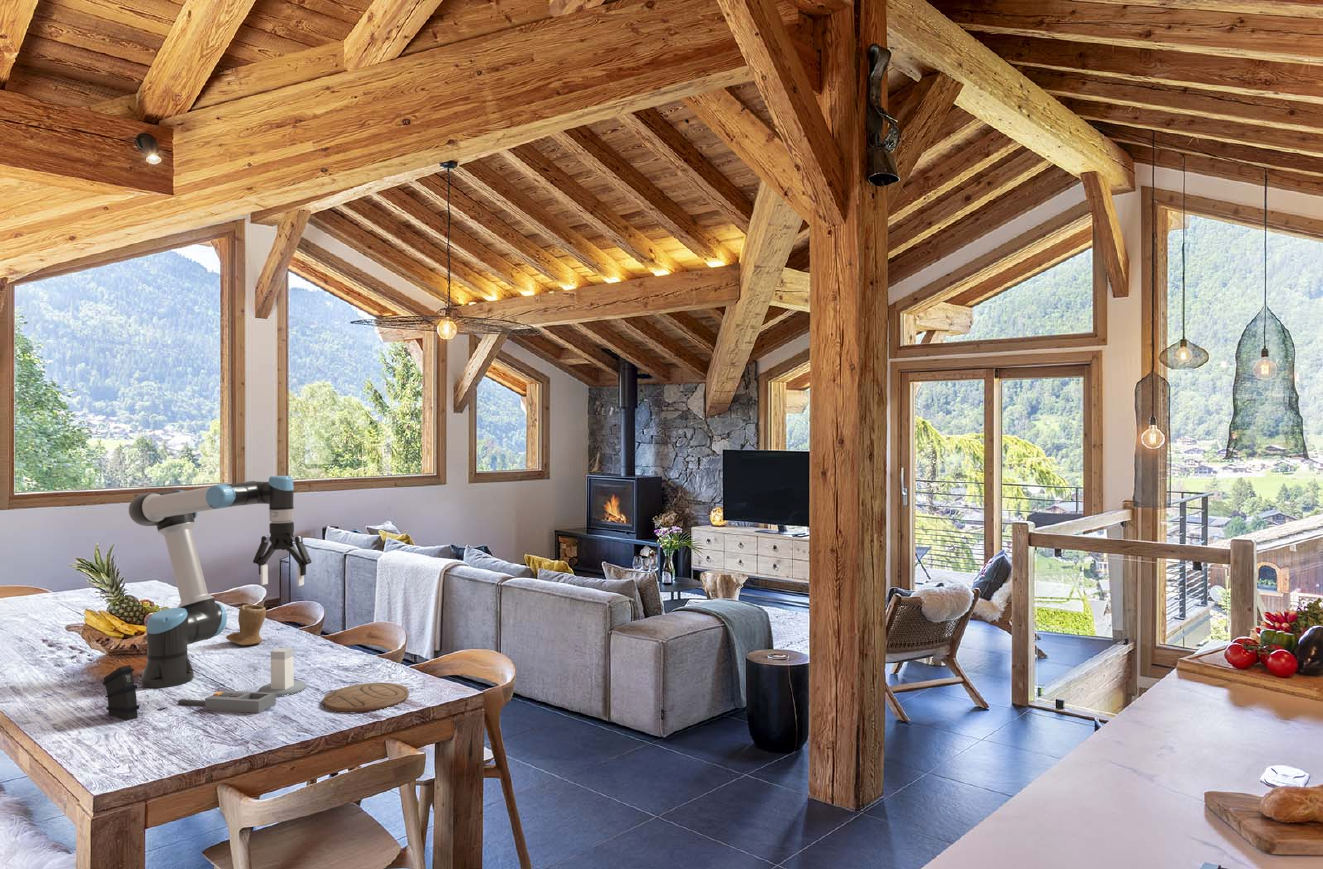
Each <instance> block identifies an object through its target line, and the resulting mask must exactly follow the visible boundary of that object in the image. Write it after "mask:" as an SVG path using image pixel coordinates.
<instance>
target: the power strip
mask: <svg viewBox="0 0 1323 869" xmlns="http://www.w3.org/2000/svg"><path fill="white" fill-rule="evenodd" d="M275 704H276V705H277V697H276V693H265V692H258V691H245V690H244V691H243V690H240V691H239V690H229V689H228V690H226V689H225V690H221V691H216V692H214V693H213V694H212V695H209V696H207V697H204V700H203V699H201V700H200V699H186V698H181V699H179V700H178V705H182V706H183V705H185V706H187V705H188V706H203V707H204V708H205V709H204V710H205V711H216V712H218V711H219V712H231V713H233V712H234V713H247V712H251V713H250V714H259V712H260V713H262V712H265V711H266V710H268V709H270V708H272V707H274V706H275ZM273 705H274V706H273ZM271 706H272V707H271ZM269 707H270V708H269ZM267 708H268V709H267ZM265 709H266V710H265Z"/></svg>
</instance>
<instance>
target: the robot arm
mask: <svg viewBox="0 0 1323 869" xmlns="http://www.w3.org/2000/svg"><path fill="white" fill-rule="evenodd" d="M294 487H295V486H294V479H293V477H292V476H290V475H271V476H270V477H269V478H268V481H257V480H256V481H255V480H251V481H249V480H248V481H243V482H237V483H219V484H214V485H212V486H207V487H202V488H196V489H190V490H189V489H188V490H183V489H182V490H181V489H180V490H179V489H178V490H177V489H171V490H163V491H162V490H161V491H153V492H151V491H150V492H144V493H141V494H138V495H137V496H135V497H134V498H132V500H131V501H130V503H129V506H128V515H129V517H130V518H131V520H132V521H133V522H134V523H136V524H137V525H140V526H143V527H155V526H156V529H157V532H158V533H159V534H160V535H162V536H164V540H165V543H166V544H165V545H166V547H167V552H168V555H169V560H170V564H171V567H172V572H173V575H174V579H175V583H176V587H177V591H178V595H179V598H180V603H179V604H178V606H177V607H172V608H170V607H169V609H168V608H165V609H162V610H158V611H156V612H154V613H151V614H150V615H149V617H148V618H147V622H146V648H147V649H146V651H147V652H146V656H147V657H146V659H147V660H146V664H145V667H144V668H143V669H144V670H143V672H142V675H141V686H142V687H145V688H152V689H153V688H168V687H173V686H177V685H178V686H179V685H182V684H187V683H188V682H190V681H192V680H193V679H194V678H195V677H194V669H193V667H192V664H191V661H190V658H189V656H188V645H191V644H195V643H198V642H202V641H205V640H209V639H212V638H213V637H214V638H215V637H217V636H219V635H220V634H221V633H222V632H224V629H225V627H226V625H227V619H228V616H227V615H228V614H227V611H226V609H225V607H224V606H222V604H220V603H219V602H216V599H215V596H213V595H211V594H209V593H208V588H207V584H206V580H205V576H204V573H203V568H202V565H201V560H200V557H199V553H198V549H197V545H196V542H195V538H194V534H193V530H192V528H193V527H194V526H195V524H196V522H195V519H196V518H197V516H198V515H199V513H201V512H205V511H211V510H218V509H224V508H230V507H231V508H232V507H238V506H239V507H240V506H247V505H258V504H260V505H263V504H265V505H267V504H268V506H269V507H268V510H269V512H268V516H269V522H270V523H269V525H268V526H269V534H270V535H263V536H261V539H260V540H261V541H260V545H259V546H258V549H257V550H256V553H255V556H254V558H253V561H252V563H253V564H255V565H258V575H260V586H264V585H268V584H269V573H268V572H269V566H268V564H267V562H268V561H269V559H270V558H271V557H272V555H273V554H274V553H275V551H277V550H282V551H285V550H286V551H287V552H288V553H289V555H291V557H293V559H294V561H295V562H296V563H297V564H298V565H297V566H296V571H297V572H296V582H297V583H296V584H297V585H296V587H300V586H304V585H305V576H307V565H309V564H312V563H313V562H312V560H311V557H310V555H309V553H308V550H307V548H306V545H305V544H304V539H303V536H302V535H298V536H294V533H295V532H294V531H295V525H294V524H295V522H294V520H295V516H294V515H295V511H294V509H295V508H294V507H295V506H294V495H295V494H294V490H295V488H294ZM269 543H270V545H269Z"/></svg>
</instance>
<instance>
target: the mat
mask: <svg viewBox="0 0 1323 869" xmlns="http://www.w3.org/2000/svg"><path fill="white" fill-rule="evenodd" d="M305 688H306V689H307V683H306V682H305V681H301V680H294V685H293V686H291V687H289V688H287V689H285V690H284V689H271V683H268V684H264V685H262V686H261V687H259V688H258V691H257V692H265V693H276V696H281V697H283V696H282V695H287V694H292V693H296V694H299V693H301V692H300V691H302V690H303V691H305V690H306V689H305ZM304 689H305V690H304ZM303 691H302V692H303ZM298 692H299V693H298Z"/></svg>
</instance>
